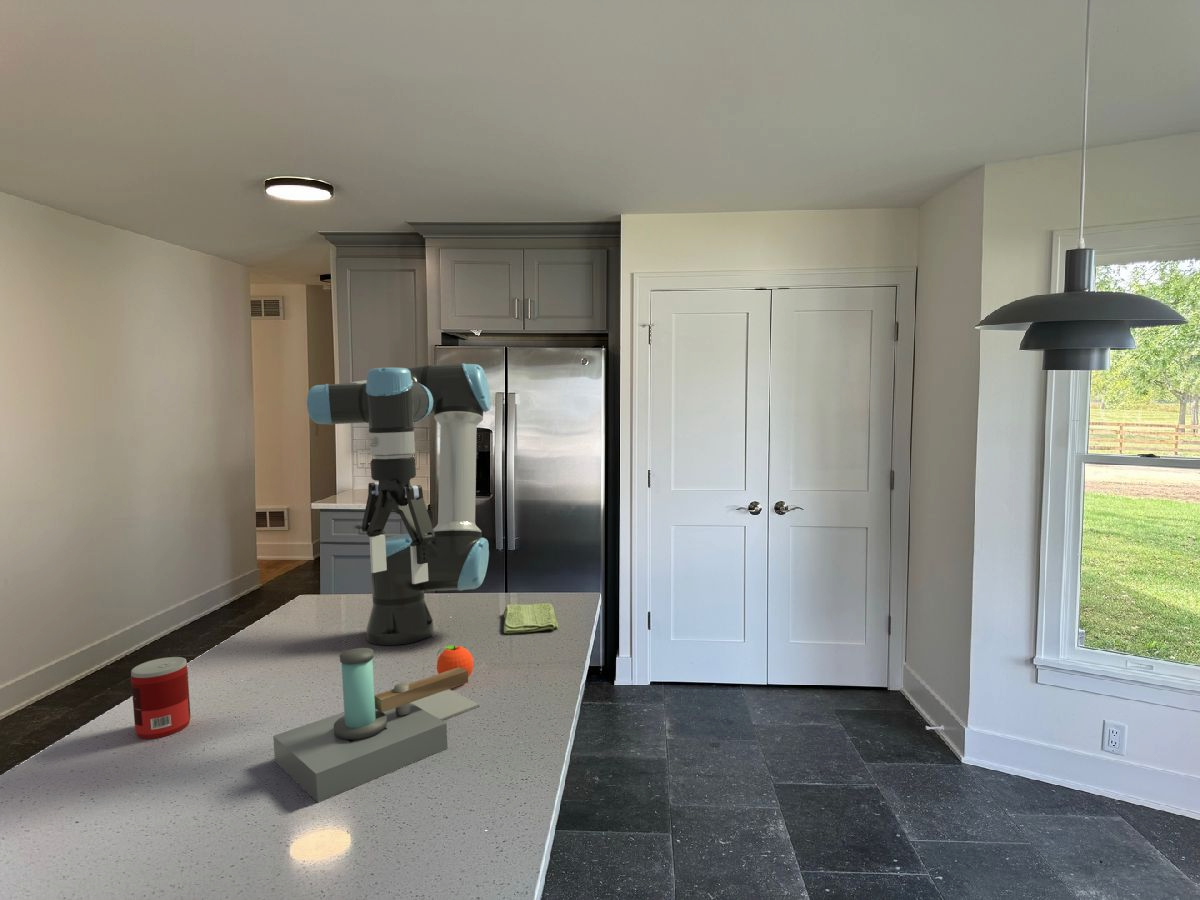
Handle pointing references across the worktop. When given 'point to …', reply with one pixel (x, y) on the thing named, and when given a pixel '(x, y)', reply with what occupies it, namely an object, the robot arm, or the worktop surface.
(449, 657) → the clementine
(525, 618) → the washcloth
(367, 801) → the worktop surface
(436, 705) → the mat
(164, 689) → the canned food
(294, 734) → the socket block
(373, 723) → the plug
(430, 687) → the brown wooden lever
